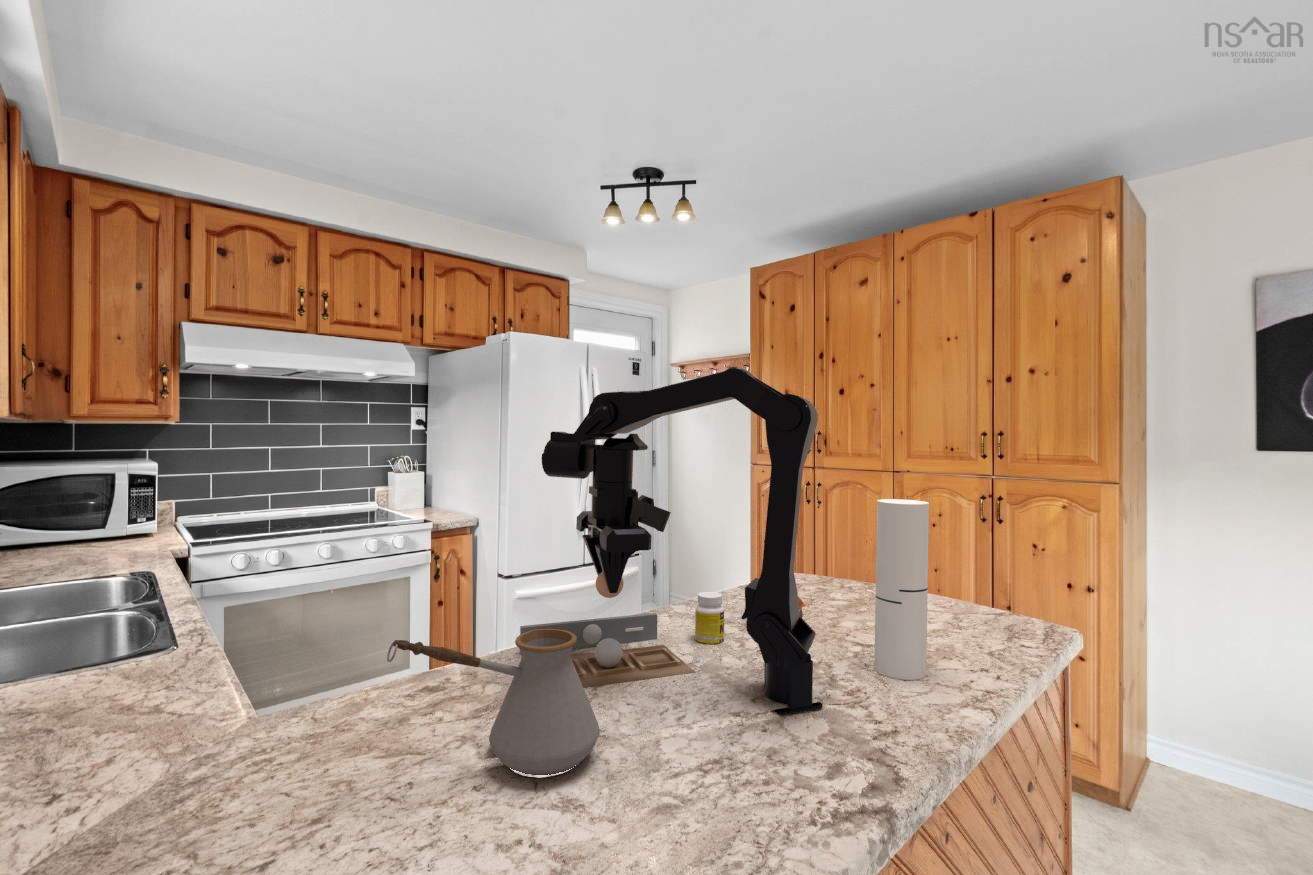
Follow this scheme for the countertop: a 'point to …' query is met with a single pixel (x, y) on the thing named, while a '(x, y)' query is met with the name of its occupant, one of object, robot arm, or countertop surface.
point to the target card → (605, 629)
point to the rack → (630, 666)
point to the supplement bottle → (709, 619)
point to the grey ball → (608, 652)
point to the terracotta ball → (603, 588)
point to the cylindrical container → (901, 588)
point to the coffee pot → (534, 703)
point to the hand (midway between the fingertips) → (609, 588)
